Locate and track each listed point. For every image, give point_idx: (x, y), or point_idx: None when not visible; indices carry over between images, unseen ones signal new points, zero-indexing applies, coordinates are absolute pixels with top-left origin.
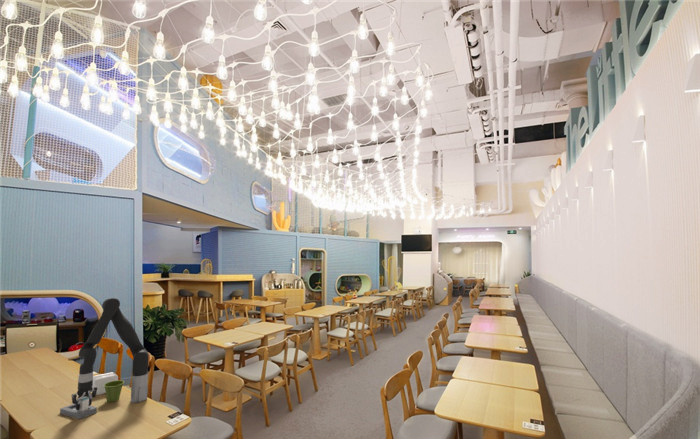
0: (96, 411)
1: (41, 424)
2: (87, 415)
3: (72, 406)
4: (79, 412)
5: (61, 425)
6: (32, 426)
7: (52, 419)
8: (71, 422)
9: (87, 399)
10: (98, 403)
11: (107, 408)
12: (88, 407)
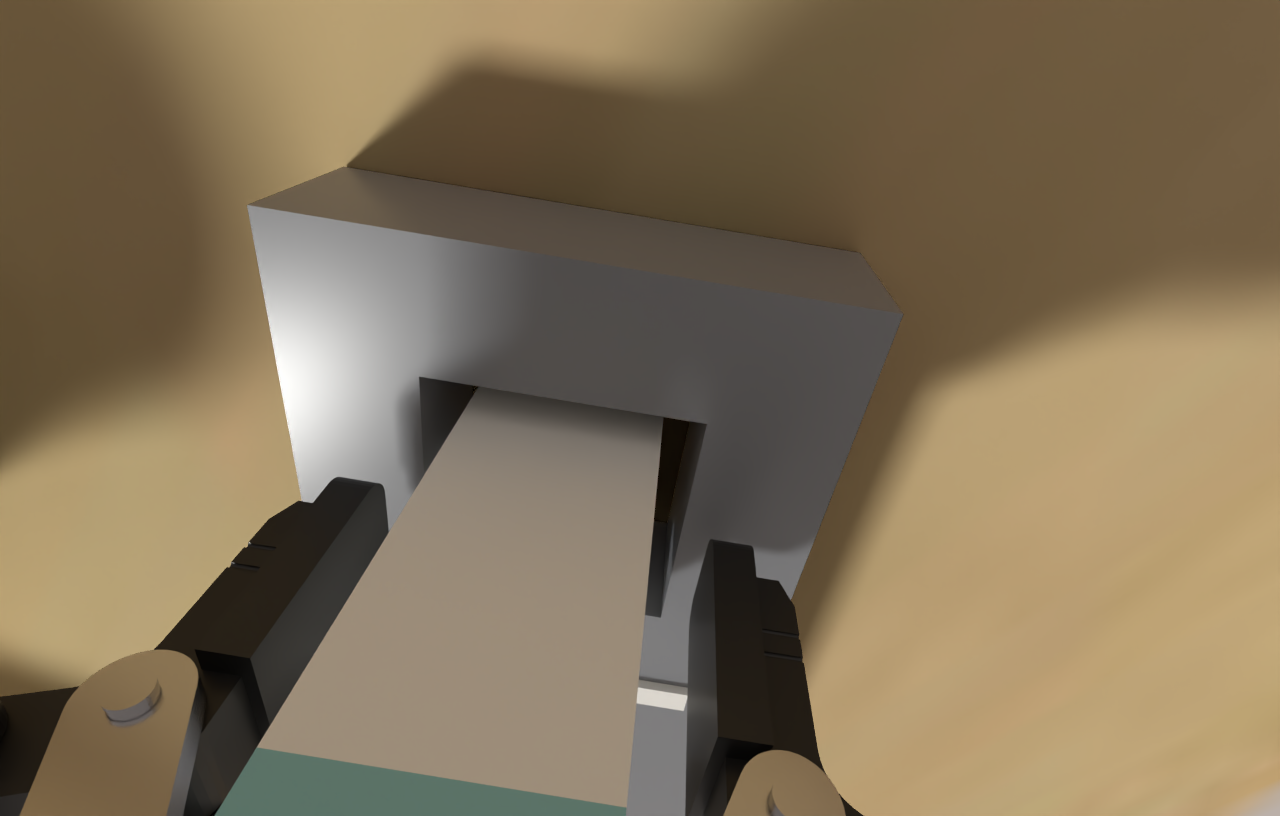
0: (334, 174)
1: (1116, 751)
2: (618, 219)
3: None
4: (772, 436)
5: (1257, 384)
6: (1186, 802)
7: (904, 742)
8: (1074, 285)
9: (356, 757)
10: (97, 568)
11: (5, 79)
12: (406, 484)
